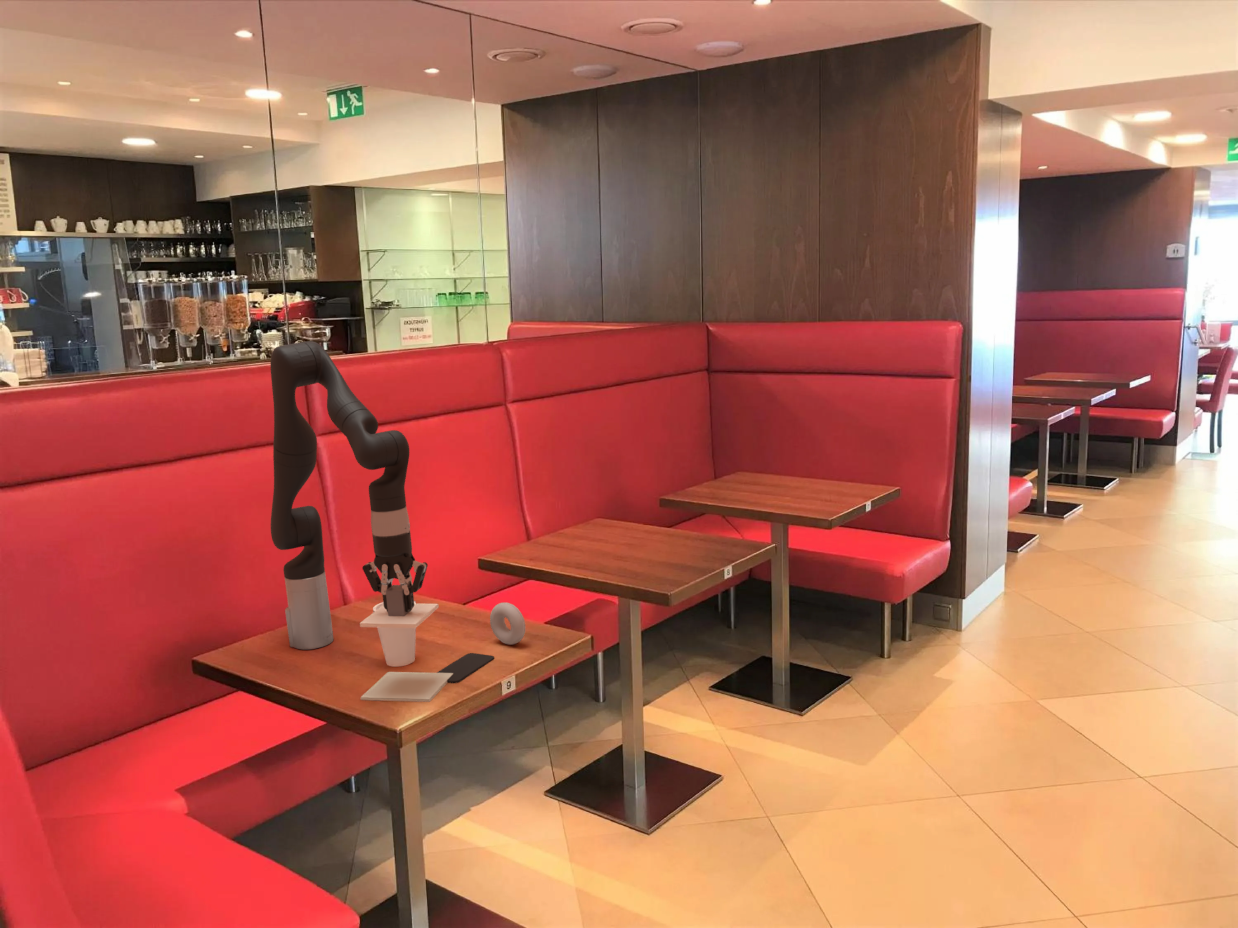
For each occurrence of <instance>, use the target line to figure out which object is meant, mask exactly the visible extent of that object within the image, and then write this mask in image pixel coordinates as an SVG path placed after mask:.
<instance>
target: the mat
mask: <svg viewBox="0 0 1238 928" xmlns="http://www.w3.org/2000/svg"><path fill="white" fill-rule="evenodd" d="M452 675H453V673H437V672H418V671H417V672H416V671H415V672H413V671H412V672H411V671H403V672H402V671H388V672H386V673H385V674H384V675H383V676H382V677H381V678H380V679H379V680H378V681H376V682H375V684H373V685H372V686H371V687H370V688H369V689H368V690H367V691H365V692H364V693H363V694H362V695H361V696H360V701H382V702H383V701H385V702H389V701H390V702H420V703H421V702H423V703H425V702H426V703H428V702H429V703H430V702H431V701H432V700H433V699H434V698H435V697H436V696H437V695H438V693H440V691H441V690H442V689H443V688H444V687H445V686H446V685H447V684H448V683H447V680H448V679H449V678H450V677H451V676H452Z"/></svg>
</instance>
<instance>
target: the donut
mask: <svg viewBox="0 0 1238 928" xmlns="http://www.w3.org/2000/svg"><path fill="white" fill-rule="evenodd" d="M490 612H491V613H490V617H489V619H490V620H489V623H490V628H491V630H492V633H493V634H494V636H495V637H496V638H497V639H498V640H499V641H500V642H501V643H503V644H505V645H509V646H511V645H512V646H513V645H516V644H517V643H520V642H521V641H522V640H523V638H524V636H525V634H526V621H525V618H524V616H523V614H522V612H521V611H520V610H519V608H518V607H517V606H515V605H514V604H512V603H510V602H499V603H498V604H496V605H495V606H494V607H493V608H492V610H491V611H490ZM505 618H506V619H507V621H508V622H509V624H510V628H509V627H508V626H507V624H506V621H505Z"/></svg>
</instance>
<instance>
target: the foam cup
mask: <svg viewBox="0 0 1238 928" xmlns="http://www.w3.org/2000/svg"><path fill="white" fill-rule="evenodd" d="M414 603H415V604H417V603H416V600H414ZM382 605H384V604H383V601H382V602H380V603H377V604H376V605H374V606H373V607H372V613H373V612H375V611H376V610H377V609H379V608H380V607H381V606H382ZM376 628H377V629H376V630H377V632H378V637H379V640H380V644H381V647H382V651H383V652H382V653H383V656H384V659H385V663H386V665H387V666H388V667H393V668H394V667H403V666H407V665H410V664H413V663H414V662H415V661H416V659H415V658H416V641H417V639H416V636H417V635H416V634H417V633H416V632H417V627H416V628H387V627H376Z"/></svg>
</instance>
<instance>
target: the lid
mask: <svg viewBox="0 0 1238 928" xmlns="http://www.w3.org/2000/svg"><path fill="white" fill-rule="evenodd" d="M404 595H405V594H404V592H403V589H402V586H401V585H400V584H392V586H391V587H389V588H388V589H387V590H386V599H387V608H388V612H387V610H386V609H385V608H384V605H382V606H381V607H380V608H379V609H377V610H376V611H375V612H373V611H372V613H371V614H370V615H369V616H366V618H364V619H363V620H362V621H361V622H359V627H360V628H377V627H387V628H416V629H417V627H419V626H420V625H421V624H422V623H423V622H425V621H426V619H428V618H429V617H430V616H431V615H432V614H433V613H434V612H435V611H436V610H437V609H439V603H416V604H415V603H414V607H413V608H412V610H411V611H410V612H405V604H404Z"/></svg>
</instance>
